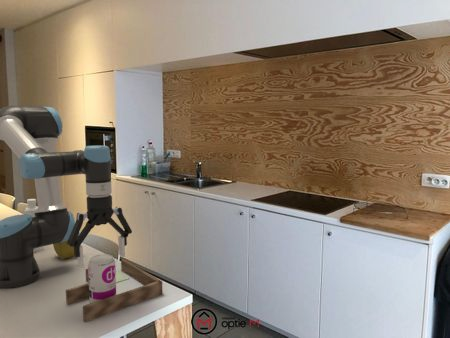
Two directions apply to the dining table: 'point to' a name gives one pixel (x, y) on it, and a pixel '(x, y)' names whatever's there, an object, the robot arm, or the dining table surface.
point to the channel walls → (120, 300)
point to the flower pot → (64, 250)
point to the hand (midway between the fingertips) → (102, 261)
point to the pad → (120, 277)
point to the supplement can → (101, 277)
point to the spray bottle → (32, 214)
